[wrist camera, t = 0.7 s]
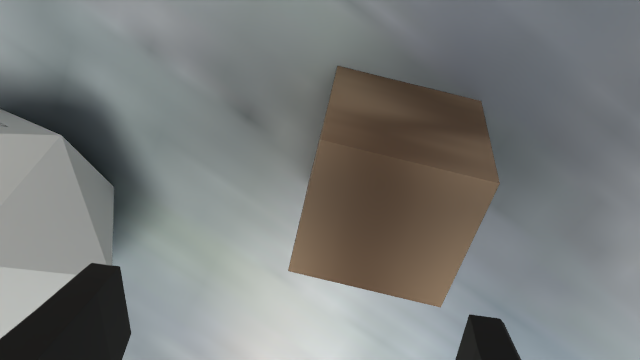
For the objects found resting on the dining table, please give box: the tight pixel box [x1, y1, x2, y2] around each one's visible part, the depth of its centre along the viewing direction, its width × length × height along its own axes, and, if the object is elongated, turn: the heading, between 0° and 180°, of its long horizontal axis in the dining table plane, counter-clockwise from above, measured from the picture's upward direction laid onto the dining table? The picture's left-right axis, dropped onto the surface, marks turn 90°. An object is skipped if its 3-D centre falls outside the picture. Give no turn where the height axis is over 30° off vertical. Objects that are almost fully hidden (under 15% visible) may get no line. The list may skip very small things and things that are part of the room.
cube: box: [288, 66, 500, 307], centre depth 20 cm, size 5×5×5 cm
